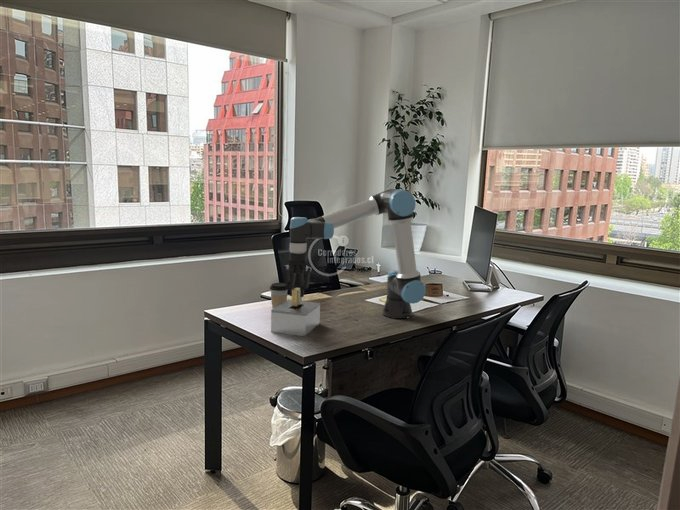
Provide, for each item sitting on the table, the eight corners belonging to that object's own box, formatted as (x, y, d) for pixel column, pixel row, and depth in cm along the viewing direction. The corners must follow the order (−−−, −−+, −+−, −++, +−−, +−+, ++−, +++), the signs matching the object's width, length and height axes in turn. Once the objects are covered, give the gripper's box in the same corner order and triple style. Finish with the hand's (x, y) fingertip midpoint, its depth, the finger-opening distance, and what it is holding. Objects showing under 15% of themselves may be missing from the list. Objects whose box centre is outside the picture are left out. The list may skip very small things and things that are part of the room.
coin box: (319, 323, 233) (320, 303, 231) (305, 336, 214) (305, 313, 212) (287, 319, 237) (288, 299, 235) (271, 331, 218) (271, 309, 216)
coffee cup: (279, 310, 253) (279, 281, 251) (292, 314, 247) (292, 284, 245) (265, 313, 246) (265, 284, 244) (278, 317, 240) (279, 287, 238)
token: (301, 303, 226) (301, 288, 225) (296, 306, 220) (297, 290, 219) (296, 302, 227) (296, 287, 226) (291, 305, 221) (291, 290, 220)
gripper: (317, 252, 221) (315, 303, 225) (284, 249, 225) (283, 299, 229) (311, 254, 214) (310, 307, 218) (278, 251, 218) (277, 303, 222)
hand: (296, 303), depth 223 cm, fingers closed on token, 2 cm apart
